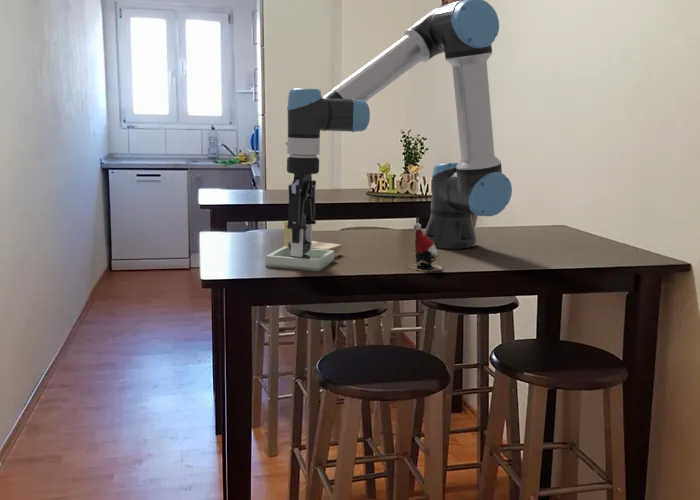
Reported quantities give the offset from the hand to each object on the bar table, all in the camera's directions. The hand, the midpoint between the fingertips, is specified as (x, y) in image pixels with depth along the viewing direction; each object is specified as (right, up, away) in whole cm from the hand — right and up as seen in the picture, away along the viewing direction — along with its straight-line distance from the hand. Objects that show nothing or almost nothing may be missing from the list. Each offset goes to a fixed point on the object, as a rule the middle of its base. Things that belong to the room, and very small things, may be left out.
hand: (301, 253), depth 169 cm
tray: (0, -2, 0) cm, 2 cm away
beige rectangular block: (+3, -1, +12) cm, 12 cm away
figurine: (+30, -4, 0) cm, 30 cm away
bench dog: (-3, 0, +13) cm, 14 cm away
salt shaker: (-1, -1, 0) cm, 1 cm away
